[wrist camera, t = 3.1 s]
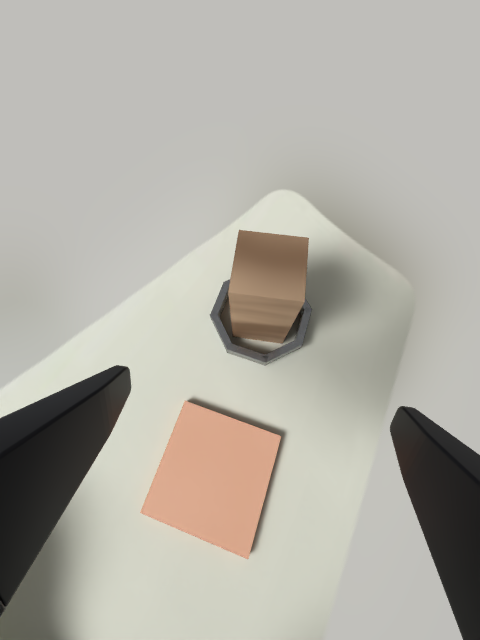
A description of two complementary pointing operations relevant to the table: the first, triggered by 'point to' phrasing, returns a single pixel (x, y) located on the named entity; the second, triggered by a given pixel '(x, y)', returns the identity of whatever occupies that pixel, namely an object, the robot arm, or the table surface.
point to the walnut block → (267, 285)
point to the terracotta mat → (213, 478)
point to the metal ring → (249, 353)
